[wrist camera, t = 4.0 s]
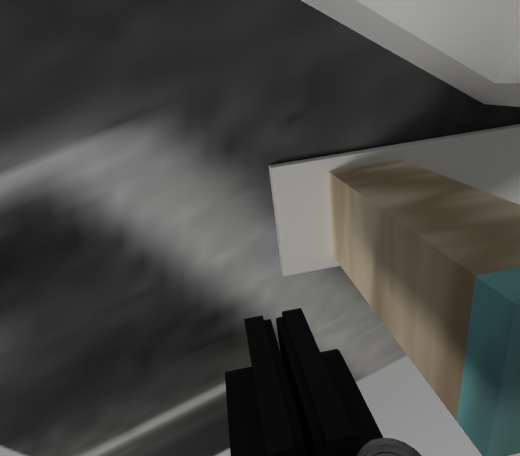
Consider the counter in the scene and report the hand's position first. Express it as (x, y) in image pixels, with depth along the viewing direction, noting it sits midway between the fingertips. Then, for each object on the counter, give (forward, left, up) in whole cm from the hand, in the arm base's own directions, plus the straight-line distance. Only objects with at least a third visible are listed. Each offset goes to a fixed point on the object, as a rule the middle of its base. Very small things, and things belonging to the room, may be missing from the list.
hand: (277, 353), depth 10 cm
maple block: (-7, 0, -9) cm, 12 cm away
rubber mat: (-11, 0, -10) cm, 15 cm away
